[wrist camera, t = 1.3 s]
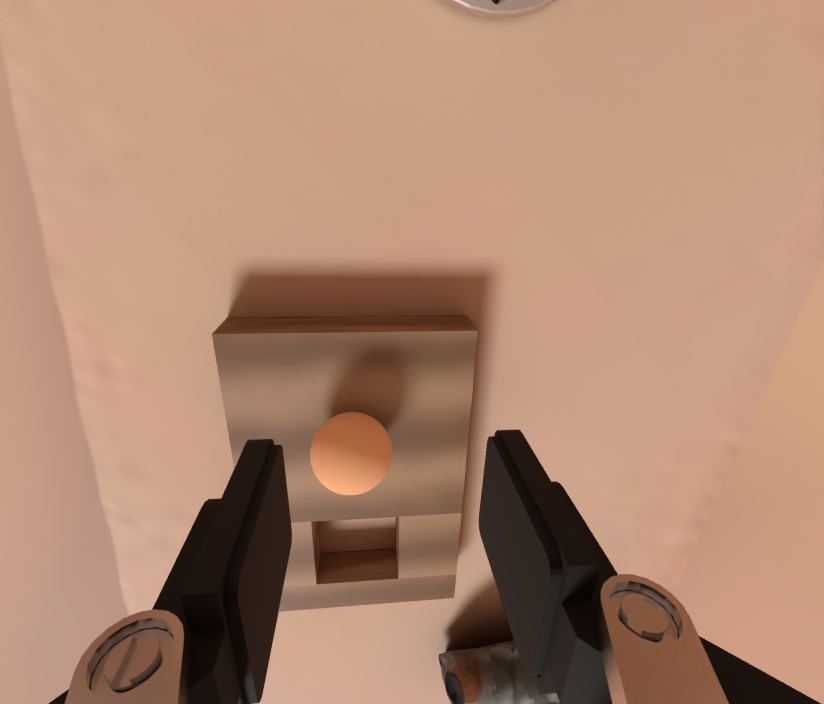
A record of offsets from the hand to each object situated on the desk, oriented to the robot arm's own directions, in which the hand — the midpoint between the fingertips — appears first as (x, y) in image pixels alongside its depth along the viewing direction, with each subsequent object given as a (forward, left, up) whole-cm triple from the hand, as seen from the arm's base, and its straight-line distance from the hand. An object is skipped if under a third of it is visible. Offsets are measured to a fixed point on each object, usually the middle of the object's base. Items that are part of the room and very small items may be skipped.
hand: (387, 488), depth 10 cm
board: (+14, -2, -19) cm, 24 cm away
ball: (+9, -2, -14) cm, 17 cm away
